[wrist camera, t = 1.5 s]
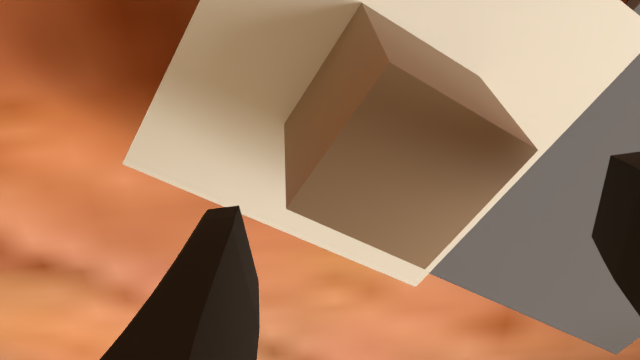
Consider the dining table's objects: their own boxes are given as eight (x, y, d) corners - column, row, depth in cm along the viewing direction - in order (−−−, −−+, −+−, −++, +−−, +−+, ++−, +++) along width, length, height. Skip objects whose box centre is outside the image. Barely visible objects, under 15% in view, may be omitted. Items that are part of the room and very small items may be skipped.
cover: (643, 22, 15) (775, 95, 11) (411, 271, 20) (444, 383, 16) (313, -238, 11) (333, -271, 7) (128, 150, 16) (80, 256, 12)
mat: (873, 148, 23) (886, 155, 23) (610, 345, 30) (616, 354, 29) (660, -35, 18) (670, -31, 17) (401, 253, 25) (403, 262, 24)
